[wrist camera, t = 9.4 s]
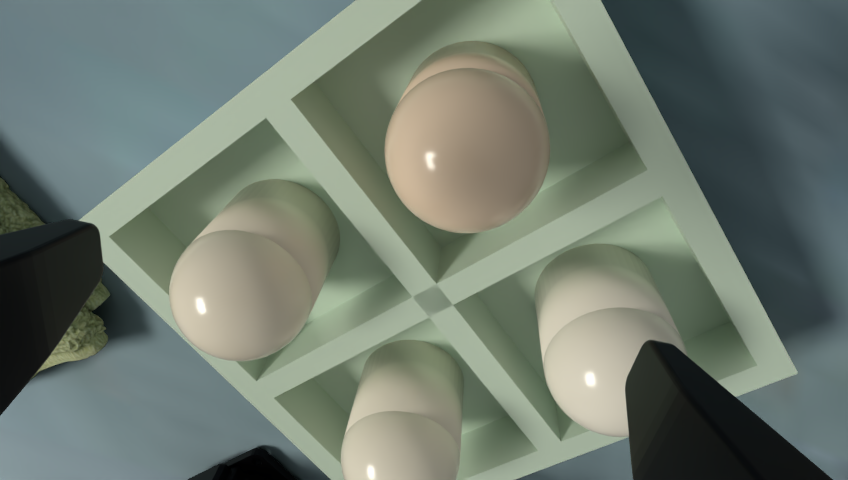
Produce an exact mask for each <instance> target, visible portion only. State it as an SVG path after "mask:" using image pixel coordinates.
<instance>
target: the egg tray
mask: <svg viewBox="0 0 848 480" xmlns="http://www.w3.org/2000/svg"><path fill="white" fill-rule="evenodd" d="M463 41H481V42H487V43H491V44H494V45H497V46H499V47H501V48H503V49H505V50H507V51H508V52H510V53H511V54H513V55H514V56H515V57H516V58H518V59H519V61H520V62H521V63H522V64H523V65H524V66H525V68H526V69H527V70H528V72H529V74H530V75H531V77H532V79H533V82H534V85H535V87H536V90H537V94H538V97H539V100H540V104H541V107H542V110H543V113H544V117H545V120H546V123H547V127H548V132H549V137H550V161H549V166H548V170H547V174H546V177H545V179H544V182H543V185H542V187H541V188H540V190H539V192H538V194H537V195H536V197H535V198H534V199H533V201H532V202H531V203H530V204H529V205H528V207H527V208H526V209H525V210H524V211H523V212H522V213H520V214H519V215H518V216H517V217H516V218H514V219H512V220H511V221H509V222H508V223H506V224H504V225H502V226H500V227H497V228H494V229H491V230H488V231H484V232H479V233H454V232H449V231H445V230H441V229H439V228H436V227H434V226H431V225H430V224H428V223H426V222H424V221H422V220H421V219H419V218H418V217H417V216H415V215H414V214H413V213H412V212H411V211H410V210H409V209H408V208H407V207H406V206H405V205H404V204H403V203H402V201H401V200H400V198H399V197H398V195H397V194H396V192H395V190H394V188H393V186H392V184H391V182H390V179H389V176H388V173H387V169H386V164H385V151H384V148H385V138H386V133H387V129H388V125H389V122H390V120H391V117H392V115H393V113H394V111H395V109H396V107H397V105H398V103H399V101H400V99H401V97H402V95H403V93H404V91H405V89H406V87H407V85H408V84H409V82H410V80H411V78H412V76H413V74H414V72H415V71H416V70H417V68H418V67H419V65H420V64H421V63H422V62H423V61H424V60H425V59H426V58H427V57H429V56H430V55H431V54H432V53H434V52H436V51H437V50H439V49H440V48H443V47H445V46H447V45H450V44H453V43H457V42H463ZM268 179H280V180H287V181H291V182H294V183H297V184H299V185H302V186H304V187H306V188H308V189H309V190H311V191H312V192H314V193H315V194H316V195H318V196H319V197H320V198H321V199H322V200H323V201H324V202H325V203H326V204H327V205H328V207H329V208H330V210H331V211H332V213H333V215H334V216H335V219H336V221H337V224H338V227H339V232H340V246H339V251H338V254H337V256H336V259H335V261H334V263H333V265H332V267H331V270H330V272H329V274H328V276H327V278H326V280H325V283H324V285H323V287H322V289H321V291H320V294H319V296H318V298H317V300H316V302H315V304H314V307H313V309H312V311H311V313H310V315H309V318H308V319H307V321H306V323H305V325H304V327H303V328H302V330H301V331H300V332H299V333H298V335H297V336H296V337H295V338H294V339H293V340H292V341H291V342H290V343H289V344H287V345H286V346H285V347H284V348H282V349H280V350H279V351H277V352H275V353H273V354H271V355H269V356H267V357H263V358H260V359H256V360H251V361H229V360H223V359H219V358H216V357H213V356H211V355H209V354H207V353H205V352H203V351H201V350H200V349H198V348H197V347H195V346H194V345H193V344H192V343H191V342H190V341H189V340H188V339H187V338H186V337H185V336H184V335H183V333H182V332H181V331H180V329H179V327H178V326H177V324H176V322H175V320H174V317H173V314H172V311H171V307H170V301H169V286H170V281H171V276H172V273H173V270H174V267H175V265H176V263H177V261H178V259H179V258H180V256H181V254H182V253H183V252H184V251H185V249H186V248H187V247H188V246H189V245H190V244H191V243H192V241H193V240H194V239H195V238H196V237H197V236H198V235H199V234H200V233H201V232H202V231H203V230H204V229H205V228H206V227H207V226H208V224H209V223H210V222H211V221H212V220H213V219H214V218H215V217H216V216H217V215H218V214H219V213H220V212H221V211H222V210H223V208H224V207H225V206H226V205H227V204H228V203H229V202H230V201H231V200H232V199H233V198H234V197H235V196H236V195H237V194H238V193H239V192H240V191H241V190H242V189H243V188H245V187H246V186H248V185H250V184H252V183H255V182H258V181H262V180H268ZM79 221H83V222H88V223H92V224H94V225H95V226H97V228H98V229H99V232H100V239H101V248H102V258H103V262H104V263H105V264H106V265H107V266H108V267H109V268H110V269H111V270H112V271H113V272H114V273H115V274H116V275H117V276H118V277H119V278H120V279H121V280H122V281H124V282H125V283H126V284H127V285H128V286H129V287H130V288H131V289H132V290H133V291H134V292H135V293H136V294H137V295H138V296H139V297H140V298H141V299H142V300H143V301H144V302H146V303H147V304H148V305H149V306H150V307H151V308H152V309H153V310H154V311H155V312H156V313H157V314H158V315H159V316H160V317H161V318H162V319H163V320H164V321H165V322H166V323H167V324H169V325H170V326H171V327H172V328H173V329H174V330H175V331H176V332H177V333H178V334H179V335H180V336H181V337H182V338H183V339H184V340H185V341H186V342H187V343H188V344H189V345H191V346H192V347H193V348H194V349H195V350H196V351H197V352H198V353H199V354H200V355H201V356H202V357H203V358H204V359H205V360H206V361H207V362H208V363H209V364H210V365H211V366H213V367H214V368H215V369H216V370H217V371H218V372H219V373H220V374H221V375H222V376H223V377H224V378H225V379H226V380H227V381H228V382H229V383H230V384H231V385H232V386H233V387H235V388H236V389H237V390H238V391H239V392H240V393H241V394H242V395H243V396H244V397H245V398H246V399H247V400H248V401H249V402H250V403H251V404H252V405H253V406H254V407H255V408H256V409H258V410H259V411H260V412H261V413H262V414H263V415H264V416H265V417H266V418H267V419H268V420H269V421H270V422H271V423H272V424H273V425H274V426H275V427H276V428H277V429H278V430H280V431H281V432H282V433H283V434H284V435H285V436H286V437H287V438H288V439H289V440H290V441H291V442H292V443H293V444H294V445H295V446H296V447H297V448H298V449H299V450H300V451H302V452H303V453H304V454H305V455H306V456H307V457H308V458H309V459H310V460H311V461H312V462H313V463H314V464H315V465H316V466H317V467H318V468H319V469H320V470H321V471H322V472H323V473H325V474H326V475H327V476H328V477H329V478H330V479H331V480H344V477H343V473H342V467H341V448H342V443H343V439H344V435H345V432H346V428H347V425H348V421H349V418H350V414H351V410H352V407H353V403H354V400H355V396H356V393H357V389H358V385H359V382H360V378H361V375H362V371H363V368H364V365H365V362H366V360H367V359H368V357H369V356H370V355H371V354H372V353H373V352H374V351H375V350H376V349H378V348H379V347H381V346H383V345H385V344H387V343H390V342H394V341H399V340H418V341H423V342H427V343H430V344H433V345H435V346H437V347H440V348H441V349H443V350H444V351H446V352H447V353H448V354H450V355H451V356H452V357H453V358H454V359H455V360H456V362H457V363H458V365H459V366H460V368H461V370H462V373H463V377H464V394H463V413H462V433H461V453H460V466H459V471H458V475H457V478H456V480H515V479H518V478H521V477H523V476H526V475H529V474H531V473H534V472H537V471H539V470H542V469H545V468H547V467H550V466H553V465H555V464H558V463H561V462H563V461H566V460H569V459H571V458H574V457H577V456H579V455H582V454H585V453H587V452H590V451H593V450H595V449H598V448H601V447H603V446H606V445H609V444H611V443H614V442H617V441H619V440H622V439H625V438H627V437H612V436H606V435H602V434H599V433H596V432H593V431H590V430H588V429H586V428H584V427H582V426H581V425H579V424H578V423H576V422H575V421H573V420H572V419H571V418H570V417H569V416H567V415H566V414H565V413H564V411H563V410H562V409H561V408H560V407H559V406H558V404H557V403H556V401H555V400H554V398H553V396H552V394H551V392H550V390H549V388H548V385H547V382H546V378H545V374H544V368H543V361H542V353H541V345H540V337H539V329H538V322H537V314H536V306H535V296H534V295H535V287H536V283H537V281H538V278H539V276H540V274H541V273H542V271H543V270H544V268H545V267H546V266H547V265H548V264H549V263H550V262H551V261H552V260H553V259H554V258H556V257H557V256H558V255H560V254H562V253H563V252H565V251H567V250H570V249H572V248H575V247H578V246H582V245H587V244H609V245H615V246H618V247H621V248H624V249H626V250H628V251H630V252H632V253H634V254H635V255H636V256H638V257H639V258H640V259H641V260H642V261H643V262H644V263H645V264H646V266H647V267H648V269H649V271H650V273H651V275H652V277H653V279H654V281H655V283H656V285H657V288H658V290H659V292H660V294H661V296H662V298H663V300H664V302H665V304H666V307H667V309H668V311H669V313H670V315H671V317H672V319H673V321H674V323H675V326H676V328H677V330H678V332H679V334H680V336H681V338H682V340H683V342H684V345H685V348H686V351H687V355H688V357H689V358H690V359H691V360H692V361H694V362H695V363H696V364H697V365H698V366H699V367H701V368H702V369H703V370H704V371H705V372H706V373H708V374H709V375H710V376H711V377H712V378H714V379H715V380H716V381H717V382H718V383H719V384H721V385H722V386H723V387H724V388H725V389H727V390H728V391H729V392H730V393H731V394H732V395H734V396H735V397H736V396H739V395H742V394H744V393H747V392H750V391H752V390H755V389H758V388H760V387H763V386H766V385H768V384H771V383H774V382H776V381H779V380H782V379H784V378H787V377H790V376H792V375H795V374H798V372H797V370H796V368H795V367H794V365H793V363H792V361H791V359H790V357H789V355H788V353H787V351H786V350H785V348H784V346H783V344H782V342H781V340H780V338H779V336H778V334H777V333H776V331H775V329H774V327H773V325H772V323H771V321H770V319H769V317H768V316H767V314H766V312H765V310H764V308H763V306H762V304H761V302H760V300H759V299H758V297H757V295H756V293H755V291H754V289H753V287H752V285H751V283H750V282H749V280H748V278H747V276H746V274H745V272H744V270H743V268H742V266H741V264H740V263H739V261H738V259H737V257H736V255H735V253H734V251H733V249H732V247H731V246H730V244H729V242H728V240H727V238H726V236H725V234H724V232H723V230H722V229H721V227H720V225H719V223H718V221H717V219H716V217H715V215H714V213H713V212H712V210H711V208H710V206H709V204H708V202H707V200H706V198H705V196H704V195H703V193H702V191H701V189H700V187H699V185H698V183H697V181H696V179H695V178H694V176H693V174H692V172H691V170H690V168H689V166H688V164H687V162H686V160H685V159H684V157H683V155H682V153H681V151H680V149H679V147H678V145H677V143H676V142H675V140H674V138H673V136H672V134H671V132H670V130H669V128H668V126H667V125H666V123H665V121H664V119H663V117H662V115H661V113H660V111H659V109H658V108H657V106H656V104H655V102H654V100H653V98H652V96H651V94H650V92H649V91H648V89H647V87H646V85H645V83H644V81H643V79H642V77H641V75H640V74H639V72H638V70H637V68H636V66H635V64H634V62H633V60H632V58H631V56H630V55H629V53H628V51H627V49H626V47H625V45H624V43H623V41H622V39H621V38H620V36H619V34H618V32H617V30H616V28H615V26H614V24H613V22H612V21H611V19H610V17H609V15H608V13H607V11H606V9H605V7H604V5H603V4H602V2H601V0H356V1H354V2H353V3H352V4H351V5H349V6H348V7H347V8H345V9H344V10H343V11H342V12H340V13H339V14H338V15H337V16H335V17H334V18H333V19H332V20H330V21H329V22H328V23H327V24H325V25H324V26H323V27H322V28H320V29H319V30H318V31H317V32H315V33H314V34H313V35H312V36H310V37H309V38H308V39H306V40H305V41H304V42H303V43H301V44H300V45H299V46H298V47H296V48H295V49H294V50H293V51H291V52H290V53H289V54H288V55H286V56H285V57H284V58H283V59H281V60H280V61H279V62H278V63H276V64H275V65H274V66H272V67H271V68H270V69H269V70H267V71H266V72H265V73H264V74H262V75H261V76H260V77H259V78H257V79H256V80H255V81H254V82H252V83H251V84H250V85H249V86H247V87H246V88H245V89H244V90H242V91H241V92H240V93H239V94H237V95H236V96H235V97H233V98H232V99H231V100H230V101H228V102H227V103H226V104H225V105H223V106H222V107H221V108H220V109H218V110H217V111H216V112H215V113H213V114H212V115H211V116H210V117H208V118H207V119H206V120H205V121H203V122H202V123H201V124H199V125H198V126H197V127H196V128H194V129H193V130H192V131H191V132H189V133H188V134H187V135H186V136H184V137H183V138H182V139H181V140H179V141H178V142H177V143H176V144H174V145H173V146H172V147H171V148H169V149H168V150H167V151H165V152H164V153H163V154H162V155H160V156H159V157H158V158H157V159H155V160H154V161H153V162H152V163H150V164H149V165H148V166H147V167H145V168H144V169H143V170H142V171H140V172H139V173H138V174H137V175H135V176H134V177H133V178H132V179H130V180H129V181H128V182H126V183H125V184H124V185H123V186H121V187H120V188H119V189H118V190H116V191H115V192H114V193H113V194H111V195H110V196H109V197H108V198H106V199H105V200H104V201H103V202H101V203H100V204H99V205H98V206H96V207H95V208H94V209H92V210H91V211H90V212H89V213H87V214H86V215H85V216H84V217H82V218H81V219H80V220H79Z"/></svg>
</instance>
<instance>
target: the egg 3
mask: <svg viewBox="0 0 848 480" xmlns="http://www.w3.org/2000/svg"><path fill="white" fill-rule="evenodd" d="M534 296H535V306H536V314H537V322H538V329H539V337H540V345H541V353H542V361H543V368H544V374H545V378H546V382H547V385H548V388H549V390H550V392H551V394H552V396H553V398H554V400H555V401H556V403H557V404H558V406H559V407H560V408H561V409H562V410H563V411H564V413H565V414H566V415H567V416H569V417H570V418H571V419H572V420H573V421H575V422H576V423H578V424H579V425H581V426H582V427H584V428H586V429H588V430H590V431H593V432H596V433H599V434H602V435H606V436H612V437H629V431H628V420H627V408H626V397H625V384H626V379H627V376H628V374H629V372H630V370H631V368H632V365H633V363H634V361H635V359H636V357H637V355H638V353H639V351H640V349H641V347H642V345H643V344H644V342H645V341H648V340H656V341H661V342H666V343H670V344H673V345H675V346H676V347H677V348H678V349H679V350H681V351H682V352H683V353H684V354H685V355H686V356H688V355H687V351H686V348H685V345H684V342H683V340H682V338H681V336H680V334H679V332H678V330H677V328H676V326H675V323H674V321H673V319H672V317H671V315H670V313H669V311H668V309H667V307H666V304H665V302H664V300H663V298H662V296H661V294H660V292H659V290H658V288H657V285H656V283H655V281H654V279H653V277H652V275H651V273H650V271H649V269H648V267H647V266H646V264H645V263H644V262H643V261H642V260H641V259H640V258H639V257H638V256H636V255H635V254H634V253H632V252H630V251H628V250H626V249H624V248H621V247H618V246H615V245H609V244H587V245H582V246H578V247H575V248H572V249H570V250H567V251H565V252H563V253H562V254H560V255H558V256H557V257H556V258H554V259H553V260H552V261H551V262H550V263H549V264H548V265H547V266H546V267H545V268H544V270H543V271H542V273H541V274H540V276H539V278H538V281H537V283H536V287H535V295H534Z"/></svg>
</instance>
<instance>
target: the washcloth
mask: <svg viewBox="0 0 848 480" xmlns="http://www.w3.org/2000/svg"><path fill="white" fill-rule="evenodd" d="M40 225H45V223H43V222H42V221H41V220H40V219H39V217H38V216H37V215H36V214H35V213H34V212H33V211H32V210H30V209H29V207H28V205H27V204H25V203H24V202H22V201H21V200H20V199H19V198H18V197H17V195H16V194H15V193H13V192H12V191H11V190H10V189H9V186H8V185H7V184H6V182H5V181H4V180H3V179H2V178H0V235H1V234H5V233H10V232H14V231H18V230H23V229H27V228H32V227H36V226H40ZM101 281H102V279H101V280H100V282H99V284H98V285H97V287H96V288H95V290H94V291H93V293H92V294H91V296H90V297H89V299H88V300H87V302H86V303H85V305H84V306H83V308H82V309H81V311H80V312H79V314H78V315H77V317H76V318H75V320H74V321H73V323H72V324H71V326H70V327H69V329H68V330H67V332H66V333H65V335H64V336H63V338H62V339H61V341H60V342H59V344H58V345H57V347H56V348H55V349H54V351H53V352H52V354H51V355H50V356H49V357H48V359H47V360H46V361H45V363H44V364H43V365H42V366H41V368H40V369H39V370H38V371H37V372H36V374H37V373H38V372H39V371H42V370H44V369H47V368H48V367H51V366H54V365H57V364H60V363H63V362H68V361H77V360H82V359H86V358H88V357H89V356H92V355H95V354H96V353H97V352H99V351H100V350H101V349H102V348H103V347H104V346H105V345H106V343H107V341H108V336H107V335H106V334H105V332H104V330H105V329H106V327H104V326H103V325H104V323H103V320H102V319H101V318H100V317H99V316H97V315H95V314H93V313H92V311H93V310H95V309H96V308H97V307H98V306H99V305H101V304H102V303H103V302H104V301H105V300H106V299H107V298H108V297H109V296H110V293H109V291H108V290H107V288H106V287H105V286H104V285H103V284H102V283H101ZM36 374H35V375H34V376H33V377H35V376H36ZM33 377H32V378H33ZM32 378H31V379H32Z"/></svg>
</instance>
